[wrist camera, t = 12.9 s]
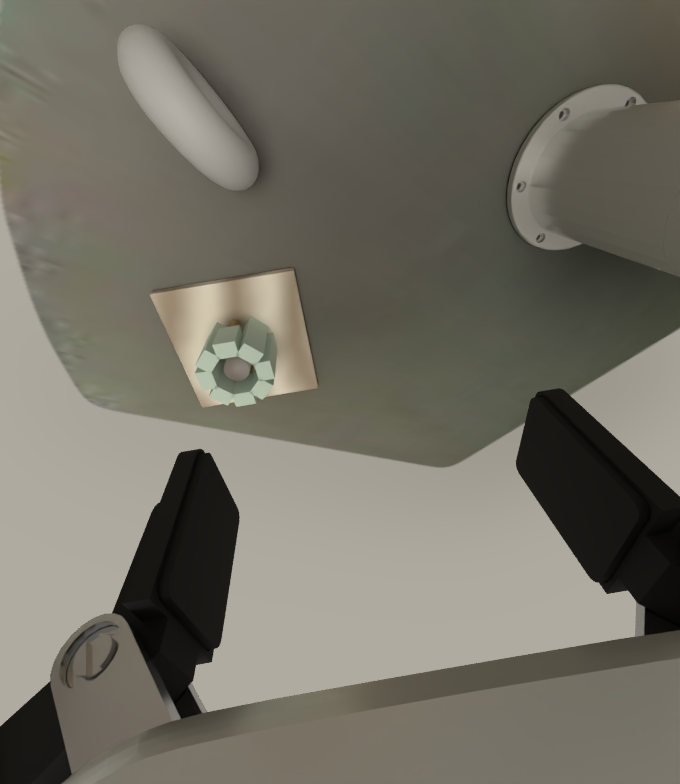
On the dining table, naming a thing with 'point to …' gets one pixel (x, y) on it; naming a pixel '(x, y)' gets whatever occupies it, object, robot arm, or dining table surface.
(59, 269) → the dining table surface
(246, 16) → the dining table surface
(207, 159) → the donut
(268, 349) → the collar
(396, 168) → the dining table surface
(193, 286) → the post base
